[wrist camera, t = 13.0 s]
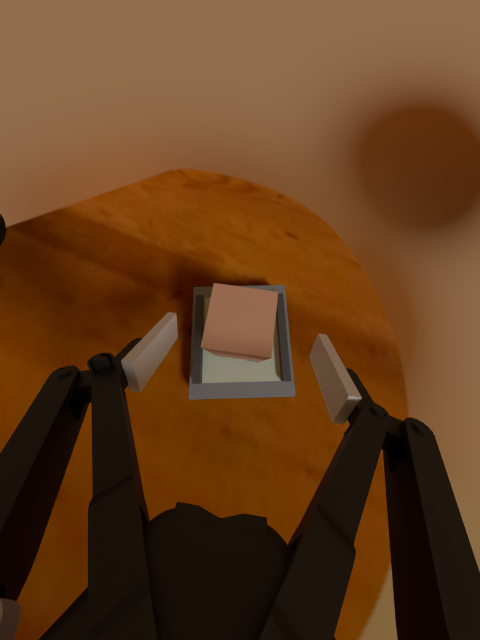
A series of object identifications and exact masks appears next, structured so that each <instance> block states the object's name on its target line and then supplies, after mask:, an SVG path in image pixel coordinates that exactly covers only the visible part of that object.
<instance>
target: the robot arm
mask: <svg viewBox="0 0 480 640" xmlns="http://www.w3.org/2000/svg"><path fill="white" fill-rule="evenodd" d="M5 228H6V227H5V222H4V219H3V217H2V215H1V214H0V244H1V242H2V240H3V238H4V235H5ZM177 338H178V328H177V315H176V313H171V312H168V313H167V314H166V315H165V316H164V317H163V318H162V319H161V320H160V321H159V322H158V323H157V324H156V325H155V326H154V327H153V328H152V329H151V330H150V331H149V332H148V333H147V335H146V336H145V337H144V338H143V339H142V338H136V339H135V340H133V341H131V342H130V343H129V344H128V345H127V346H126V347H125V348H124V349H123V350H122V351H121V352H120V353H118V354H117V355H116V356H115V357H114V356H113V354H111V353H100V354H97V355H95V356H93V357H91V358H90V359H89V360H88V362H87V365H88V367H89V369H90V370H88V371H79V370H78V368H77V367H76V366H65V367H62V368H59V369H57V370H56V371H54V372H53V373H52V374H51V375H50V376H49V378H48V379H47V381H46V382H45V384H44V385H43V387H42V389H41V390H40V392H39V393H38V395H37V397H36V398H35V400H34V401H33V403H32V404H31V406H30V408H29V409H28V411H27V412H26V414H25V416H24V417H23V419H22V420H21V422H20V423H19V425H18V427H17V428H16V430H15V431H14V433H13V434H12V436H11V438H10V439H9V441H8V442H7V444H6V446H5V447H4V449H3V450H2V452H1V453H0V640H13V639H14V637H15V634H16V630H17V627H18V624H19V619H20V614H21V613H20V606H19V604H18V603H17V599H18V597H19V595H20V592H21V590H22V588H23V586H24V584H25V582H26V580H27V577H28V575H29V573H30V570H31V568H32V565H33V563H34V560H35V557H36V555H37V552H38V549H39V547H40V544H41V541H42V538H43V535H44V532H45V529H46V526H47V523H48V521H49V518H50V515H51V512H52V509H53V506H54V503H55V500H56V497H57V495H58V492H59V489H60V486H61V483H62V480H63V477H64V474H65V471H66V469H67V466H68V463H69V460H70V457H71V454H72V451H73V448H74V446H75V443H76V440H77V437H78V434H79V431H80V428H81V425H82V422H83V420H84V417H85V414H86V411H87V408H88V405H89V403H90V402H92V469H93V497H92V500H91V501H90V503H89V508H88V587H87V588H86V589H85V590H84V592H83V593H82V594H81V595H80V596H79V597H78V598H77V599H76V600H75V601H74V602H73V603H72V604H71V605H70V607H69V608H68V609H67V610H66V611H65V612H64V613H63V614H62V615H61V616H60V617H59V618H58V619H57V620H56V621H55V623H54V624H53V625H52V626H51V627H50V628H49V629H48V630H47V631H46V632H45V633H44V634H43V635H42V636H41V637H40V639H39V640H336V639H335V637H334V633H335V630H336V626H337V622H338V619H339V615H340V611H341V608H342V604H343V601H344V597H345V593H346V590H347V586H348V582H349V579H350V575H351V571H352V568H353V564H354V560H355V553H356V550H355V548H354V540H355V536H356V533H357V530H358V526H359V523H360V519H361V516H362V513H363V509H364V506H365V502H366V499H367V496H368V492H369V489H370V485H371V482H372V479H373V475H374V472H375V468H376V465H377V462H378V458H379V455H380V452H381V449H383V457H384V471H385V484H386V498H387V511H388V524H389V538H390V551H391V565H392V578H393V591H394V605H395V619H396V628H397V637H398V640H480V572H479V569H478V566H477V563H476V560H475V557H474V554H473V551H472V548H471V545H470V542H469V539H468V536H467V533H466V530H465V527H464V524H463V521H462V518H461V515H460V511H459V508H458V505H457V502H456V499H455V497H454V493H453V490H452V487H451V484H450V481H449V478H448V475H447V472H446V469H445V466H444V463H443V460H442V457H441V454H440V451H439V448H438V445H437V442H436V439H435V436H434V434H433V432H432V431H431V430H430V429H429V427H428V426H426V425H425V424H424V423H422V422H421V421H419V420H417V419H414V418H406V419H405V420H404V421H401V420H399V419H396V418H394V417H391V416H389V414H388V412H387V411H386V410H385V409H384V408H382V407H381V406H380V405H378V404H376V403H374V402H373V400H372V399H371V397H370V395H369V394H368V392H367V390H366V389H365V387H364V386H363V384H362V382H361V381H360V379H359V377H358V376H357V374H356V373H355V372H354V371H353V370H351V369H348V368H345V367H344V365H343V363H342V361H341V360H340V358H339V356H338V354H337V352H336V351H335V349H334V347H333V345H332V343H331V342H330V340H329V338H328V336H327V335H325V334H318V335H317V338H316V340H315V343H314V345H313V348H312V350H311V353H310V355H309V358H310V361H311V364H312V366H313V369H314V372H315V375H316V378H317V381H318V384H319V387H320V389H321V392H322V395H323V398H324V401H325V404H326V407H327V410H328V412H329V415H330V418H331V421H332V423H337V424H343V425H344V423H345V422H346V420H347V419H348V422H349V424H350V426H349V427H348V429H347V430H346V431H345V433H344V437H343V439H342V441H341V443H340V445H339V447H338V449H337V451H336V453H335V455H334V457H333V459H332V461H331V463H330V465H329V467H328V469H327V471H326V473H325V475H324V477H323V479H322V481H321V482H320V484H319V486H318V488H317V490H316V492H315V494H314V496H313V498H312V500H311V502H310V504H309V506H308V508H307V510H306V512H305V514H304V516H303V518H302V520H301V522H300V524H299V526H298V528H297V529H296V531H295V532H294V534H293V536H292V538H291V539H290V541H289V543H288V545H287V544H286V542H285V541H284V540H283V538H282V537H281V536H280V535H279V534H278V533H277V532H276V531H275V530H274V529H273V528H271V527H270V526H268V525H267V518H266V517H260V516H255V515H249V514H240V515H235V516H230V517H225V518H219V517H217V516H215V515H213V514H212V513H210V512H208V511H207V510H205V509H203V508H202V507H200V506H198V505H192V504H187V503H181V502H177V503H176V507H175V508H173V509H170V510H167V511H164V512H163V513H161V514H159V515H157V516H156V517H155V518H153V519H152V520H151V521H150V520H149V515H148V510H147V506H146V502H145V498H144V493H143V488H142V482H141V477H140V471H139V466H138V460H137V455H136V449H135V444H134V439H133V433H132V428H131V422H130V417H129V411H128V406H127V400H126V395H125V391H124V390H125V388H126V387H127V386H128V387H129V390H130V391H134V392H141V391H142V390H143V388H144V387H145V385H146V384H147V382H148V381H149V379H150V378H151V376H152V375H153V373H154V372H155V371H156V369H157V368H158V366H159V365H160V363H161V362H162V360H163V359H164V357H165V356H166V354H167V353H168V351H169V350H170V349H171V347H172V346H173V344H174V343H175V341H176V340H177Z"/></svg>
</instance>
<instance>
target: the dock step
mask: <svg viewBox="0 0 480 640" xmlns="http://www.w3.org/2000/svg"><path fill="white" fill-rule="evenodd" d="M239 287H246V288H254V289H261V290H268V291H275V292H278V299H277V309H276V319H275V329H274V338H273V348H272V358H270V359H267V360H264V361H261V362H253V361H247V360H242V359H236V358H229V357H220V356H215V355H213V354H212V353H210V352H208V351H206V350H205V349H203V348H201V343H202V338H203V333H204V328H205V323H206V318H207V314H208V309H209V304H210V299H211V294H212V289H213V287H194V291H193V313H192V336H191V358H190V381H189V399H220V398H255V397H290V396H295V387H294V377H293V367H292V356H291V346H290V336H289V326H288V315H287V305H286V295H285V285H265V286H239Z"/></svg>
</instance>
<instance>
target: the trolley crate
mask: <svg viewBox="0 0 480 640" xmlns="http://www.w3.org/2000/svg"><path fill="white" fill-rule="evenodd" d="M277 299H278V292H275V291H268V290H261V289H254V288H246V287H239V286H232V285H225V284H218V283H214V284H213V289H212V294H211V299H210V304H209V309H208V314H207V318H206V323H205V328H204V333H203V338H202V343H201V348H203V349H205V350H206V351H208V352H210V353H212V354H213V355H215V356H220V357H229V358H236V359H242V360H247V361H253V362H261V361H264V360H267V359H270V358H272V348H273V338H274V329H275V319H276V309H277Z"/></svg>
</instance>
